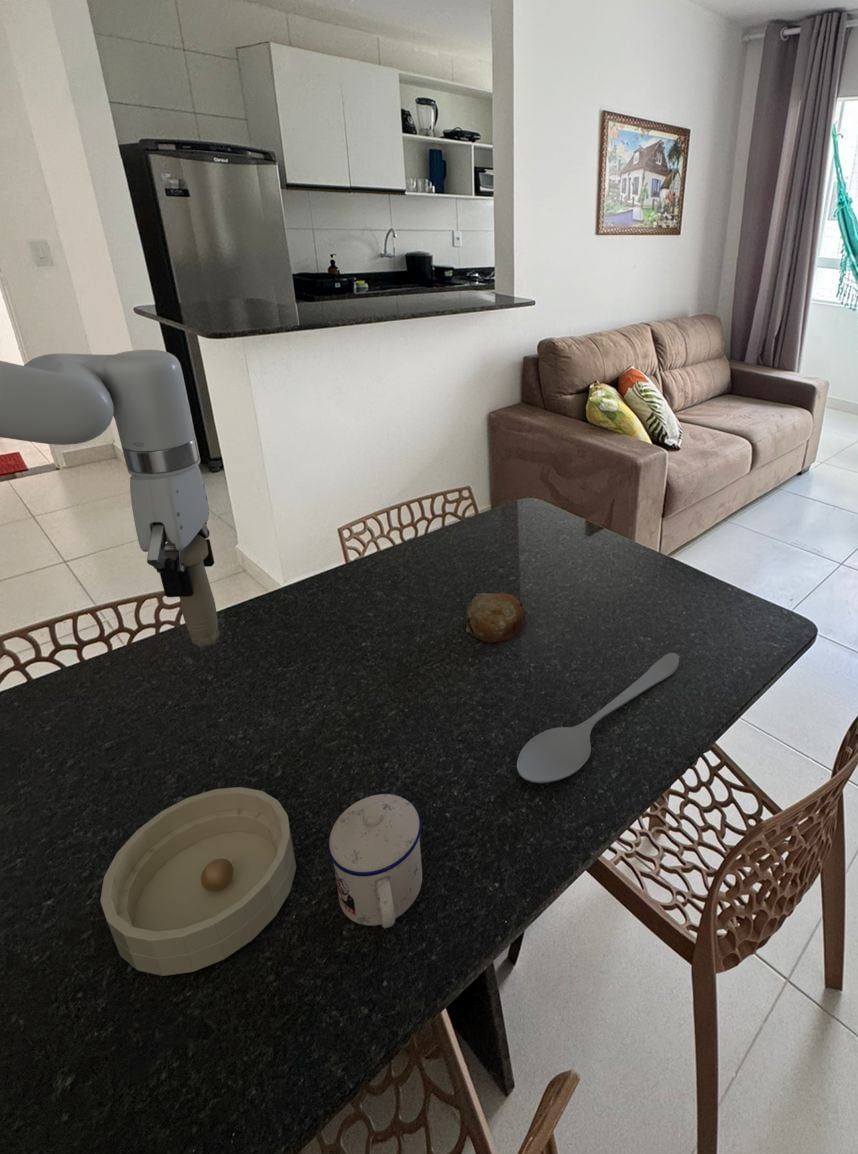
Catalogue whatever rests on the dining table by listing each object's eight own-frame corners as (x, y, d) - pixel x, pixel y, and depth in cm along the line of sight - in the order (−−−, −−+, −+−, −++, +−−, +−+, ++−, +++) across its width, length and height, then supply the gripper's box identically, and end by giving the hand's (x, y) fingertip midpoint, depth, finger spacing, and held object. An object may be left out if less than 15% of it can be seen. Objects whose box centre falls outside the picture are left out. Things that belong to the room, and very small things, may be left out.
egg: (244, 870, 71) (225, 898, 70) (232, 853, 72) (214, 880, 72) (220, 869, 68) (200, 897, 68) (208, 851, 70) (189, 878, 69)
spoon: (543, 808, 82) (544, 793, 81) (499, 772, 86) (500, 757, 85) (693, 678, 107) (696, 665, 106) (654, 655, 112) (656, 642, 111)
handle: (186, 659, 88) (162, 562, 82) (185, 632, 93) (163, 538, 87) (227, 649, 90) (207, 554, 84) (225, 623, 95) (205, 531, 89)
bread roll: (464, 634, 118) (446, 607, 113) (508, 596, 122) (492, 568, 117) (495, 664, 111) (477, 636, 106) (540, 622, 115) (524, 594, 110)
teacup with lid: (333, 865, 74) (321, 790, 69) (416, 837, 77) (410, 765, 73) (343, 973, 64) (330, 895, 59) (438, 936, 68) (433, 859, 63)
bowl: (81, 991, 61) (64, 951, 59) (159, 832, 76) (147, 794, 74) (272, 965, 64) (263, 926, 62) (311, 817, 79) (305, 780, 77)
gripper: (159, 430, 87) (186, 548, 94) (90, 485, 71) (128, 621, 79) (221, 429, 88) (242, 546, 96) (166, 484, 73) (197, 618, 80)
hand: (191, 579), depth 87 cm, fingers closed on handle, 6 cm apart
